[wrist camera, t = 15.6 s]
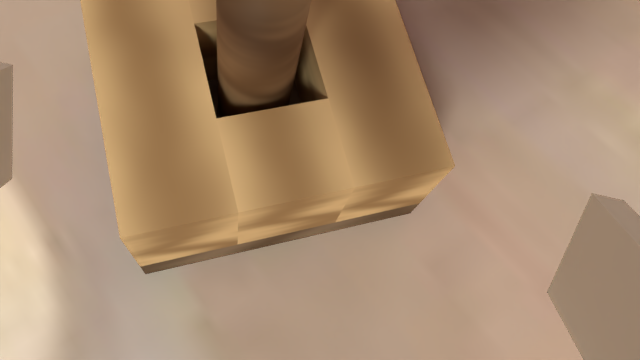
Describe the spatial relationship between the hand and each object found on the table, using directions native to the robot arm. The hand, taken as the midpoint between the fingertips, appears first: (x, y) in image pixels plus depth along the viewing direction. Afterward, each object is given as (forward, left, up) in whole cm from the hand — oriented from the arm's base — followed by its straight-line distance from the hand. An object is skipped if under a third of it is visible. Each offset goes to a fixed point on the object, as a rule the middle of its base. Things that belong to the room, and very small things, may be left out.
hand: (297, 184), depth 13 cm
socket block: (-2, -11, -21) cm, 24 cm away
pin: (-2, -11, -19) cm, 22 cm away
